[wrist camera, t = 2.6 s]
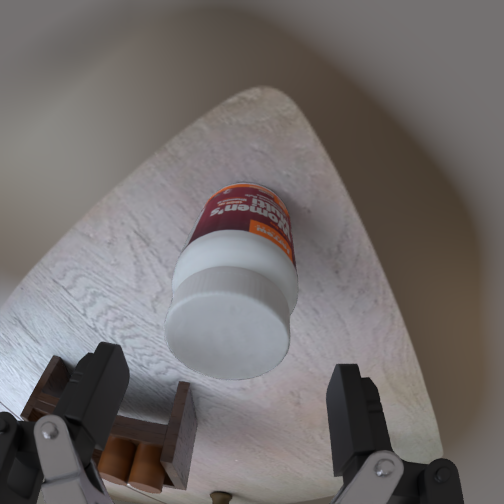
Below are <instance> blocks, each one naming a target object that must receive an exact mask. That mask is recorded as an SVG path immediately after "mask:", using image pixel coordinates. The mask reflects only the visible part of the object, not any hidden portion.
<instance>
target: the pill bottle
mask: <svg viewBox="0 0 504 504" xmlns="http://www.w3.org/2000/svg"><path fill="white" fill-rule="evenodd" d="M172 290H173V298H172V301H171V305H170V307H169V310H168V313H167V315H166V319H165V322H164V337H165V341H166V343H167V346H168V347H169V349H170V351H171V352H172V353H173V355H174V356H175V357H176V358H177V359H178V360H179V361H180V362H181V363H183V364H184V365H185V366H187V367H188V368H190V369H192V370H194V371H195V372H197V373H200V374H202V375H205V376H208V377H212V378H216V379H223V380H244V379H250V378H254V377H258V376H261V375H263V374H265V373H267V372H269V371H271V370H272V369H274V368H275V367H276V366H278V365H279V364H280V363H281V362H282V360H283V359H284V357H285V356H286V354H287V352H288V349H289V345H290V316H291V314H292V312H293V310H294V308H295V305H296V302H297V298H298V275H297V270H296V262H295V254H294V246H293V237H292V230H291V222H290V217H289V213H288V211H287V208H286V206H285V204H284V203H283V202H282V200H281V199H280V198H279V197H278V196H277V195H276V194H275V193H274V192H273V191H271V190H270V189H268V188H266V187H264V186H261V185H258V184H254V183H235V184H231V185H228V186H226V187H224V188H222V189H220V190H218V191H217V192H216V193H214V194H213V195H212V196H211V198H210V199H209V200H208V201H207V203H206V204H205V206H204V208H203V210H202V212H201V214H200V215H199V217H198V219H197V221H196V223H195V225H194V227H193V229H192V231H191V232H190V234H189V236H188V238H187V240H186V243H185V245H184V247H183V249H182V251H181V254H180V256H179V258H178V260H177V263H176V266H175V269H174V273H173V279H172Z"/></svg>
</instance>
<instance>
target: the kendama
mask: <svg viewBox="0 0 504 504" xmlns="http://www.w3.org/2000/svg"><path fill="white" fill-rule="evenodd" d="M210 497H211V498H212V501H213V504H229V501H230V500H231V499H232V495H230V494H227V493H222V492H215V493H211V494H210Z"/></svg>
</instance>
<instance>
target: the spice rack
mask: <svg viewBox="0 0 504 504" xmlns="http://www.w3.org/2000/svg"><path fill="white" fill-rule="evenodd" d="M69 379H70V375H69V373H68V371H67V370H66V368H65V366H64V364H63V362H62V360H61V358H60V357H57V356H53V357H52V359H51V360H50V362H49V364H48V365H47V367H46V369H45V371H44V372H43V374H42V376H41V378H40V379H39V381H38V383H37V385H36V387H35V389H34V390H33V392H32V394H31V396H30V398H29V400H28V402H27V403H26V405H25V407H24V409H23V411H22V413H21V415H20V417H21V418H22V419H23V420H24V421H34V422H36V421H38V420H39V419H40V418H41V417H43V416H45V415H51V414H52V412H53V411H54V409H55V407H56V405H57V403H58V401H59V399H60V397H61V395H62V393H63V391H64V389H65V387H66V385H67V383H68V382H69V381H70V380H69ZM196 431H197V420H196V415H195V409H194V404H193V399H192V393H191V388H190V383H188V382H180V381H179V384H178V388H177V392H176V396H175V400H174V404H173V408H172V412H171V416H170V420H169V424H168V425H163V424H157V423H152V422H147V421H142V420H137V419H133V418H128V417H124V416H119V415H116V418H115V421H114V424H113V426H112V429H111V432H110V435H109V438H108V440H107V443H106V446H105V449H104V451H102V450H99V449H95V448H94V451H93V454H92V456H93V458H94V461H95V463H96V466H97V468H98V471H99V473H100V476H101V478H103V479H105V480H107V481H109V482H112V483H115V484H119V485H127V484H129V485H131V486H132V487H134V488H137V489H139V490H142V491H145V492H150V493H161V492H162V487H163V486H164V487H169V488H175V489H181V490H186V488H187V482H188V477H189V471H190V465H191V459H192V453H193V447H194V442H195V436H196Z"/></svg>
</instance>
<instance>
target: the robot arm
mask: <svg viewBox="0 0 504 504" xmlns="http://www.w3.org/2000/svg"><path fill="white" fill-rule="evenodd" d="M129 377H130V373H129V368H128V365H127V362H126V359H125V356H124V354H123V351H122V348H121V346H120V345H118V344H112V343H107V342H100V343H99V345H98V346H97V348H96V350H95V352H94V353H88V354H86V355H85V356H84V357H83V358H82V359H81V360H80V361H79V362H78V364H77V366H76V368H75V370H74V373H73V374H72V376H71V377H70V379H69V380H70V381H69V382H68V383H67V385H66V387H65V389H64V391H63V393H62V395H61V397H60V399H59V401H58V403H57V405H56V407H55V409H54V411H53V412H52V414H51V415H45V416H43V417H41V418H40V419H39V420H38V421H36V422H34V421H17V420H16V418H15V417H14V416H13V415H12V414H11V413H9V412H0V504H36V503H37V499H38V496H39V492H40V489H41V491H42V494H43V498H44V501H45V504H115V503H114V502H113V501H112V499H111V498H110V496H109V494H108V492H107V490H106V488H105V485H104V483H103V481H102V478H101V476H100V473H99V471H98V468H97V466H96V463H95V461H94V458H93V456H92V454H93V451H94V448H95V449H99V450H102V451H104V449H105V446H106V443H107V440H108V438H109V435H110V432H111V429H112V426H113V424H114V421H115V418H116V415H117V413H118V410H119V407H120V404H121V402H122V399H123V396H124V394H125V391H126V389H127V386H128V383H129ZM326 404H327V413H328V421H329V430H330V440H331V450H332V460H333V471H334V477H337V476H343V483H344V484H343V485H342V487H341V488H340V490H339V491H338V492H337V494H336V495H335V496H334V498H333V499H332V501H331V502H330V503H329V504H464V500H463V494H462V489H461V483H460V479H459V474H458V470H457V467H456V466H455V464H453V462H451V461H450V460H448V459H443V458H440V459H436V460H434V461H432V462H431V463H430V464H420V463H413V462H407V461H404V460H402V459H401V458H400V457H399V456H398V455H396V454H395V453H394V451H393V449H392V447H391V443H390V438H389V434H388V430H387V425H386V421H385V417H384V413H383V408H382V404H381V402H380V396H379V393H378V389H377V387H376V386H375V384H374V383H373V382H372V380H371V379H370V378H369V377H366V378H361V375H360V371H359V367H358V365H357V364H336V366H335V368H334V371H333V374H332V377H331V380H330V382H329V385H328V388H327V393H326ZM44 478H45V481H44V482H43V479H44ZM42 482H43V483H42Z"/></svg>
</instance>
